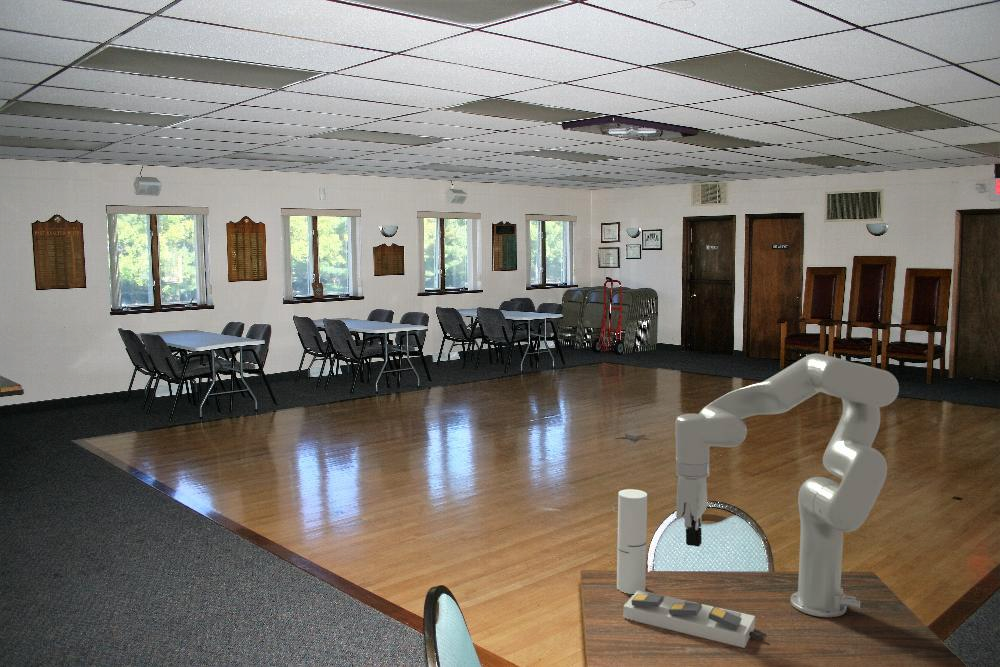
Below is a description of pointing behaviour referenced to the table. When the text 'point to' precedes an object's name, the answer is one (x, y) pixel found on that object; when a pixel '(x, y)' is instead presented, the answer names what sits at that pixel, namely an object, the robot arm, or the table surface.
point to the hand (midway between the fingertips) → (693, 544)
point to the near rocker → (725, 618)
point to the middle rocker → (685, 609)
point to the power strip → (692, 621)
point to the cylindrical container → (631, 540)
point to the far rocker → (647, 600)
